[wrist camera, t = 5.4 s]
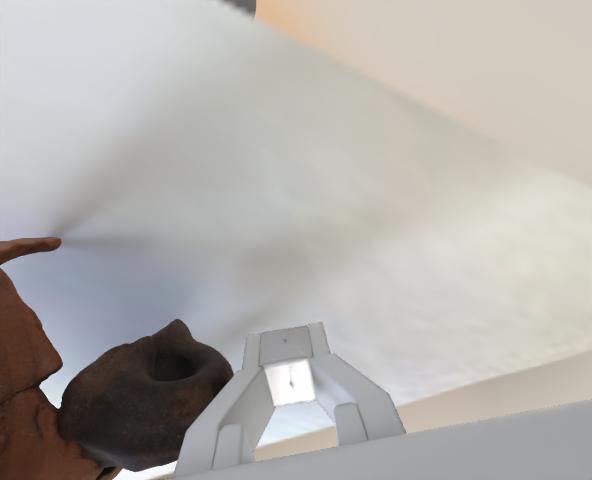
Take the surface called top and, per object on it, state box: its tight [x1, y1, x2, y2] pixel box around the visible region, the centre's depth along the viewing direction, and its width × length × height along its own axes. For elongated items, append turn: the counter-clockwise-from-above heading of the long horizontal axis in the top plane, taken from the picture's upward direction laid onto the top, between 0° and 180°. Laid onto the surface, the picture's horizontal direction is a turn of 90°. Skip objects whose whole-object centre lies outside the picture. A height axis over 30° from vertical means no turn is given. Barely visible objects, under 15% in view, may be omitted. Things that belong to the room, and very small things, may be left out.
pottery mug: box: [0, 237, 234, 480], centre depth 10 cm, size 12×10×8 cm
